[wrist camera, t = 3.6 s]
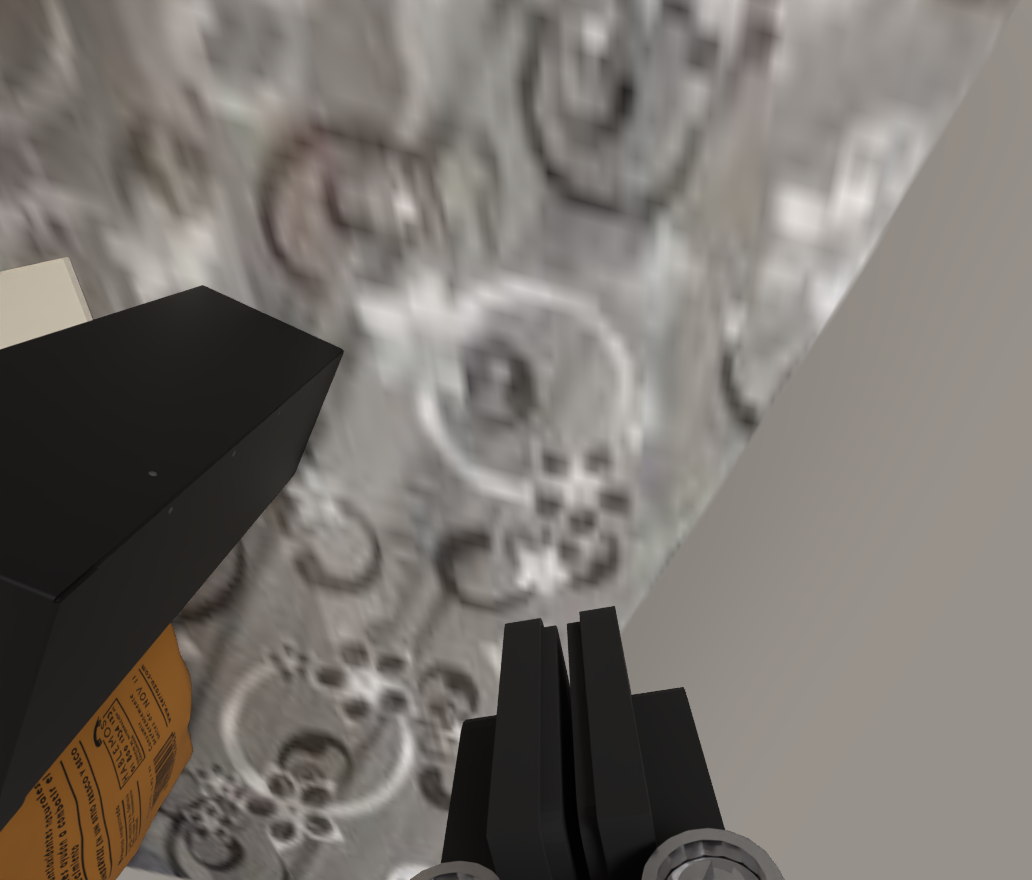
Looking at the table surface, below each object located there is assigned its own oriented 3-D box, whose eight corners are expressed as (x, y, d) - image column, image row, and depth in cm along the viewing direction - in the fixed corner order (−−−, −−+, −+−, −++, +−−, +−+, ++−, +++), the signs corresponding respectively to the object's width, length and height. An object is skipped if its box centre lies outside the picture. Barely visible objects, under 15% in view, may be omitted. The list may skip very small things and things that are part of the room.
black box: (295, 475, 41) (-136, 999, 15) (157, 415, 41) (-558, 860, 14) (347, 348, 39) (-60, 704, 13) (201, 281, 38) (-563, 514, 12)
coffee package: (54, 765, 49) (-310, 1203, 28) (25, 594, 45) (-427, 959, 24) (209, 776, 48) (-41, 1224, 28) (193, 606, 44) (-112, 983, 24)
